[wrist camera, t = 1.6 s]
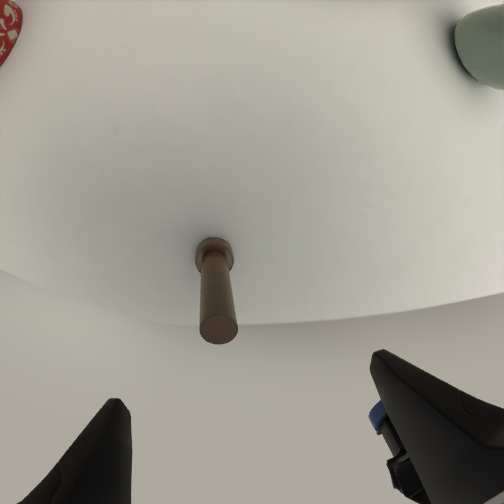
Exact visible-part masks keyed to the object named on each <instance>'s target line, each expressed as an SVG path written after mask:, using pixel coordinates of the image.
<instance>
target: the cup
mask: <svg viewBox="0 0 504 504" xmlns="http://www.w3.org/2000/svg"><path fill="white" fill-rule="evenodd" d="M454 39H455V46H456V50H457V53H458V56H459V58H460V60H461V62H462V64H463V66H464V67H465V68H466V70H467V71H468V72H469V73H470V74H471V75H472V76H473V77H474V78H475V79H476V80H478V81H479V82H481V83H482V84H485V85H487V86H489V87H492V88H495V89H499V90H503V91H504V4H501V5H495V6H490V7H486V8H483V9H479V10H477V11H474V12H472V13H469V14H467V15H466V16H464V17H462V18H461V19H460V20H459V21H458V23H457V25H456V27H455V32H454Z"/></svg>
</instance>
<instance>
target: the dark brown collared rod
mask: <svg viewBox="0 0 504 504" xmlns="http://www.w3.org/2000/svg"><path fill="white" fill-rule="evenodd" d="M233 262H234V259H233V254H232V249H231V247H230V245H229V244H228V243H227V242H226V241H225V240H223V239H220V238H208V239H206V240H204V241H203V242H201V243H200V245H199V246H198V248H197V251H196V259H195V263H196V267H197V269H198V270H199V272H200V273H201V290H200V334H201V336H202V337H203V339H205V340H206V341H207V342H209V343H212V344H225V343H228V342H230V341H231V340H233V339H234V337H235V336H236V334H237V332H238V326H237V320H236V314H235V307H234V301H233V295H232V288H231V282H230V275H229V271H230V270H231V269H232V266H233Z"/></svg>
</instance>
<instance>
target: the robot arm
mask: <svg viewBox="0 0 504 504" xmlns="http://www.w3.org/2000/svg"><path fill="white" fill-rule="evenodd" d="M370 372H371V375H372V378H373V380H374V383H375V385H376V388H377V391H378V393H379V395H380V398H381V401H382V403H383V406H384V408H385V410H386V413H385V414H384V416H383V419H382V421H381V423H380V426H379V428H378V430H377V434H378V435H380V434H382V435H383V437H384V439H385V441H386V443H387V445H388V447H389V448H390V450H391V452H392V454H393V456H394V457H393V458H391V459H389V460H387V467H388V469H389V471H390V474H391V479H392V484H393V487H394V488H395V489H398V490H399V491H400V492H401V493H403V494H404V495H405V497H407V498H409V499H411V500H413V501H415V502H417V503H419V504H504V409H503V408H500V407H498V406H495V405H492V404H489V403H486V402H484V401H482V400H480V399H477V398H475V397H473V396H471V395H469V394H467V393H465V392H463V391H461V390H459V389H457V388H455V387H453V386H451V385H450V384H448V383H446V382H444V381H442V380H440V379H438V378H437V377H435V376H433V375H431V374H429V373H427V372H425V371H424V370H422V369H420V368H418V367H416V366H414V365H412V364H411V363H409V362H407V361H405V360H403V359H401V358H399V357H398V356H396V355H394V354H392V353H390V352H389V351H387V350H384V349H382V350H378V351H375V352H374V353H373V355H372V359H371V364H370ZM131 473H132V436H131V415H130V412H129V410H128V409H127V407H126V406H125V405H124V403H123V402H122V401H121V399H119V398H111V399H109V400H108V401H107V402H106V403H105V404H104V405H103V407H102V408H101V409H100V410H99V411H98V413H97V414H96V415H95V416H94V418H93V419H92V420H91V421H90V422H89V424H88V425H87V426H86V428H85V429H84V430H83V431H82V432H81V434H80V435H79V436H78V437H77V439H76V440H75V441H74V442H73V444H72V445H71V446H70V447H69V449H68V450H67V451H66V452H65V454H64V455H63V456H62V458H61V459H60V460H59V462H58V463H57V464H56V465H55V466H54V467H53V469H52V470H51V471H50V472H49V474H48V475H47V476H46V477H45V478H44V479H43V480H42V481H41V482H40V483H39V484H38V485H37V487H35V488H34V489H33V490H32V491H31V492H30V493H29V494H28V496H26V497H25V498H24V499H23V500H22V501H21V502H19V503H17V504H131Z"/></svg>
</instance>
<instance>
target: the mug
mask: <svg viewBox="0 0 504 504" xmlns="http://www.w3.org/2000/svg"><path fill="white" fill-rule="evenodd" d="M21 23H22V12H21V9H20V8H19V7H18V6H17V5H16V4H15V3H14V2H12V1H10V0H0V65H1V64H2V63H3V62H4V60H5V59H6V57H7V56H8V54H9V52H10V51H11V49H12V47H13V45H14V43H15V41H16V39H17V37H18V34H19V31H20V28H21Z"/></svg>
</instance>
